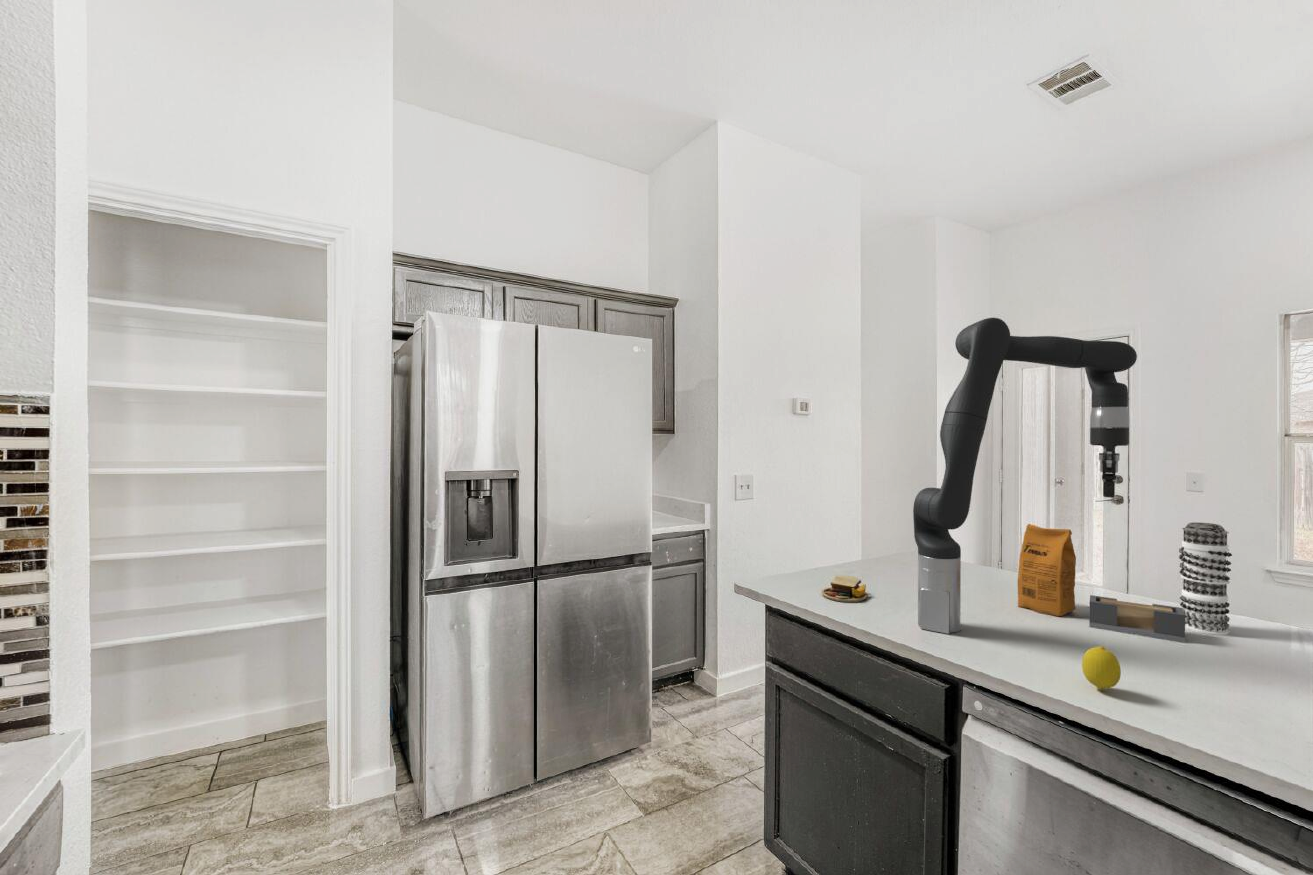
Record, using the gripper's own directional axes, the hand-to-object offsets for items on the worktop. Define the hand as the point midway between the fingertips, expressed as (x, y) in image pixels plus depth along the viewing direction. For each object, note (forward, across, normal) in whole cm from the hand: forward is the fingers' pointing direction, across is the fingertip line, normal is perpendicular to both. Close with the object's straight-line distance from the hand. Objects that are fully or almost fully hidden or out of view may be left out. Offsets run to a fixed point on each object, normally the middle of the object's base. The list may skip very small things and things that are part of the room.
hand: (1108, 497), depth 140 cm
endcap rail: (+31, +2, +5) cm, 31 cm away
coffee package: (+31, -4, -13) cm, 34 cm away
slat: (+30, +2, +5) cm, 30 cm away
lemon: (+31, +47, -1) cm, 56 cm away
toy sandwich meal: (+32, +16, -60) cm, 69 cm away
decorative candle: (+31, -9, +18) cm, 37 cm away
